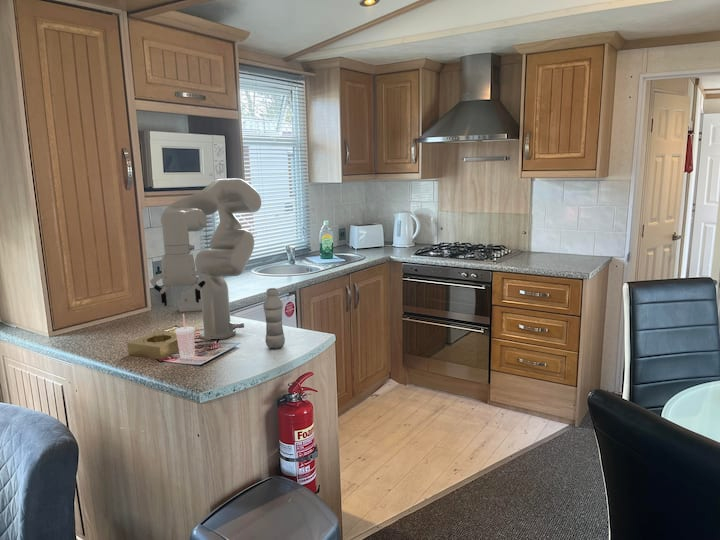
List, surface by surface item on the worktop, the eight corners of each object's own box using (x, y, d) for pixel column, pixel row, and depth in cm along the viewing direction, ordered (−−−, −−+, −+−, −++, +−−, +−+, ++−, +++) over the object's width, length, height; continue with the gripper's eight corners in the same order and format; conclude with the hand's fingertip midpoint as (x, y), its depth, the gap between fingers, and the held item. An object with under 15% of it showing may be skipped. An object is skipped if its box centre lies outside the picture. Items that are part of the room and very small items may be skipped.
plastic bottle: (267, 351, 173) (263, 292, 170) (264, 345, 180) (261, 288, 176) (286, 349, 175) (283, 290, 171) (283, 343, 182) (280, 286, 178)
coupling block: (159, 341, 187) (158, 330, 186) (190, 345, 182) (189, 334, 181) (128, 354, 175) (127, 342, 174) (161, 359, 169) (159, 347, 168)
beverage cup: (180, 360, 168) (176, 317, 165) (174, 355, 173) (170, 313, 170) (199, 356, 171) (196, 314, 169) (193, 351, 176) (189, 310, 174)
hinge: (178, 311, 227) (177, 288, 229) (180, 312, 232) (179, 290, 233) (218, 309, 230) (217, 286, 231) (219, 310, 234) (218, 287, 236)
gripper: (204, 246, 172) (208, 298, 175) (147, 250, 166) (152, 304, 168) (207, 249, 165) (211, 302, 168) (147, 253, 159) (152, 309, 162)
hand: (181, 303), depth 168 cm, fingers open, 9 cm apart
